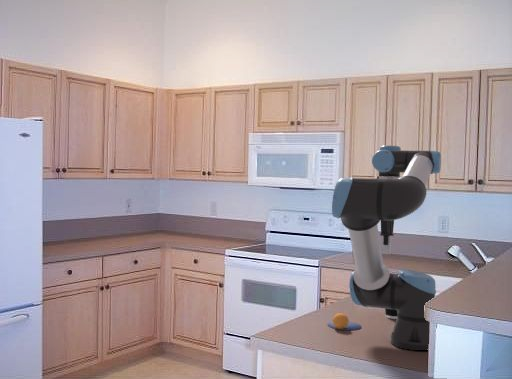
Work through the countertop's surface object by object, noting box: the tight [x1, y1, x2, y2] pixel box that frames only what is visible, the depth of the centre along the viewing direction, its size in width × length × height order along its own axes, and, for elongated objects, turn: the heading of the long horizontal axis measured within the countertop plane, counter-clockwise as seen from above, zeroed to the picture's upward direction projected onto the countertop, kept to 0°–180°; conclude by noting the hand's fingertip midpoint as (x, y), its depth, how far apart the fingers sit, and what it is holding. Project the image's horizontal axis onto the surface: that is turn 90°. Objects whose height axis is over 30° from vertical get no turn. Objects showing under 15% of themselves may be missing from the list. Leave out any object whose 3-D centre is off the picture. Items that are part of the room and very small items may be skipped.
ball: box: [332, 312, 350, 330], centre depth 199 cm, size 6×6×6 cm
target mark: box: [327, 321, 362, 331], centre depth 203 cm, size 12×12×1 cm
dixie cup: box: [384, 309, 397, 320], centre depth 218 cm, size 8×8×11 cm
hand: (386, 253), depth 205 cm, fingers closed
